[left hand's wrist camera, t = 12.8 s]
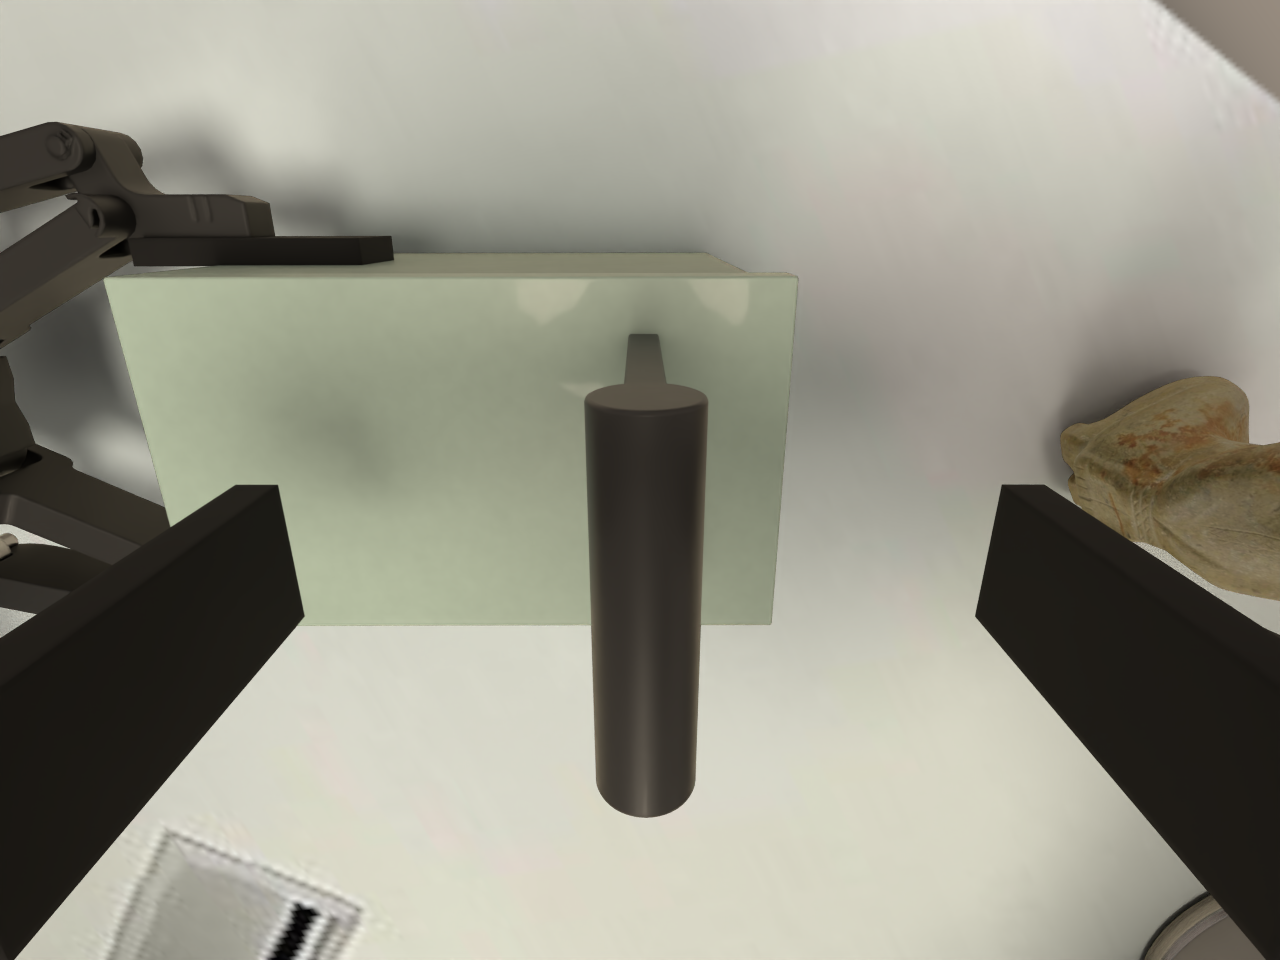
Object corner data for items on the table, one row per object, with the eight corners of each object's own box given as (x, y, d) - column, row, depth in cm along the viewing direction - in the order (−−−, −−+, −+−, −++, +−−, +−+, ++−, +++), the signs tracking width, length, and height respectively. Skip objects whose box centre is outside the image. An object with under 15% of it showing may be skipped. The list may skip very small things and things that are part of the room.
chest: (707, 252, 27) (749, 272, 16) (700, 470, 30) (732, 602, 20) (333, 253, 27) (138, 273, 16) (366, 471, 30) (221, 603, 20)
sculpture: (1215, 473, 30) (1725, 696, 16) (1049, 524, 31) (1392, 778, 17) (1207, 347, 28) (1780, 475, 14) (1029, 405, 29) (1400, 581, 15)
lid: (788, 272, 16) (933, 321, 8) (764, 603, 20) (851, 869, 12) (137, 273, 16) (-351, 324, 8) (220, 604, 20) (-71, 871, 12)
